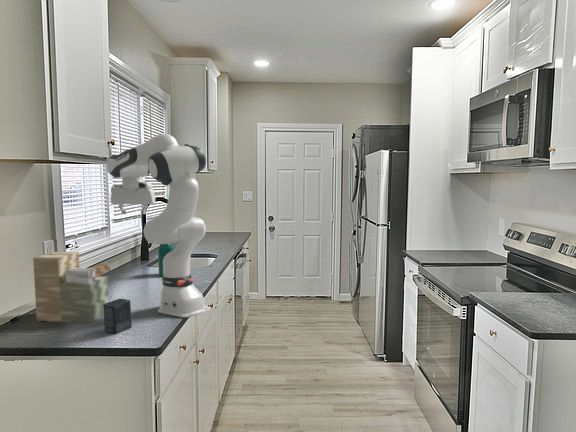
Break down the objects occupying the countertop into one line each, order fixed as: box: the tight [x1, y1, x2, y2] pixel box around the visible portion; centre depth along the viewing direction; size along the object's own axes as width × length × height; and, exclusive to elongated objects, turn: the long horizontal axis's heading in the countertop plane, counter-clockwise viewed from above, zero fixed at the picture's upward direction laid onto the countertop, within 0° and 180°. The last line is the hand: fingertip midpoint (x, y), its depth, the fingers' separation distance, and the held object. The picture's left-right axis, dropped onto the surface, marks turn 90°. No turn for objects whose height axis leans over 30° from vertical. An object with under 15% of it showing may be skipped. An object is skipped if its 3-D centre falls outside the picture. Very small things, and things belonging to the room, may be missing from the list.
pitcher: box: [157, 244, 176, 278], centre depth 241 cm, size 10×8×22 cm
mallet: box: [66, 263, 111, 284], centre depth 176 cm, size 23×9×5 cm, turn 177°
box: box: [103, 298, 132, 335], centre depth 156 cm, size 8×6×11 cm
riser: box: [32, 251, 110, 324], centre depth 171 cm, size 14×22×25 cm, turn 86°
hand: (133, 214), depth 200 cm, fingers open, 8 cm apart
